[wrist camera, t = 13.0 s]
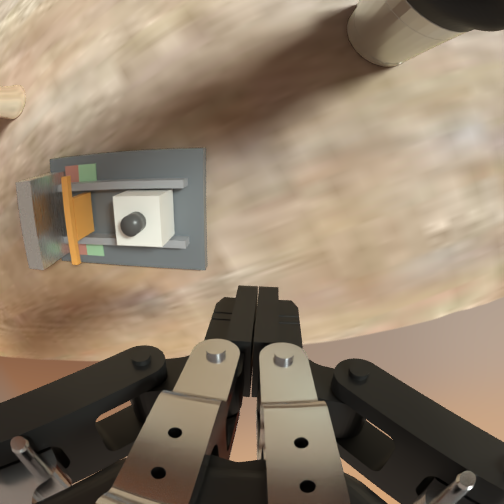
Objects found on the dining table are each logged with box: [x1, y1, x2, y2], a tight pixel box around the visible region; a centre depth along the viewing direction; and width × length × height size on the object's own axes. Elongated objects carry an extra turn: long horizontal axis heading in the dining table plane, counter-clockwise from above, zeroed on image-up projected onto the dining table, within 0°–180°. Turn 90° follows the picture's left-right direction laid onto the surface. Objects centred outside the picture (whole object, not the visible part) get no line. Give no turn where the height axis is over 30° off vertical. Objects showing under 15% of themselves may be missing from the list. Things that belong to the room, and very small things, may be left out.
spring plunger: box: [113, 189, 175, 247], centre depth 36 cm, size 6×6×7 cm
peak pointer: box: [61, 176, 94, 265], centre depth 37 cm, size 12×1×5 cm, turn 179°
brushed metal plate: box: [16, 171, 70, 270], centre depth 37 cm, size 12×3×8 cm, turn 179°
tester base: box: [50, 148, 207, 270], centre depth 40 cm, size 16×24×4 cm, turn 89°
